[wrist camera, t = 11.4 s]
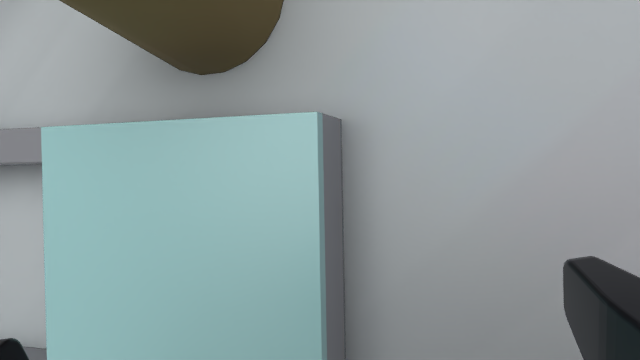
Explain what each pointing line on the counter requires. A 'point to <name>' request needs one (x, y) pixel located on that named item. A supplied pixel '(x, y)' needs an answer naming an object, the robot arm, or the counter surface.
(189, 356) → the teal gray square board
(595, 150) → the counter surface
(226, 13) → the brown waisted cylinder
